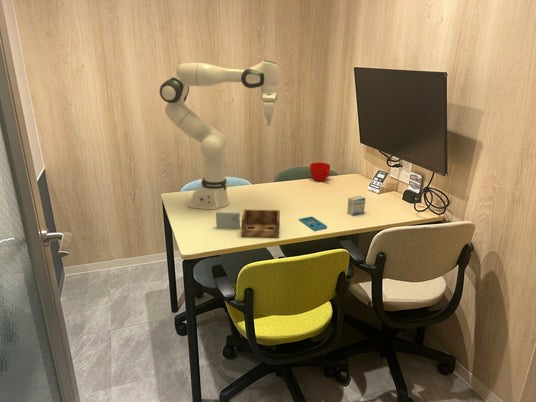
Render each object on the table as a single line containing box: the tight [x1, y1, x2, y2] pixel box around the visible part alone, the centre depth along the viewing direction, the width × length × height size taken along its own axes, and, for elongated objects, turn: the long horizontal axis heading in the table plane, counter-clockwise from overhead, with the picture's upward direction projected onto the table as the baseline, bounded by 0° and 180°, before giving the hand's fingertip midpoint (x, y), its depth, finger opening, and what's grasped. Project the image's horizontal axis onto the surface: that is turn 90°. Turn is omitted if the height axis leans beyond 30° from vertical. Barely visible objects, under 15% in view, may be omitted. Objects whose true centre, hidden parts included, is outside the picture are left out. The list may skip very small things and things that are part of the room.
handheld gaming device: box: [298, 216, 328, 232], centre depth 193 cm, size 8×1×15 cm
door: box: [215, 211, 241, 230], centre depth 187 cm, size 11×3×8 cm, turn 87°
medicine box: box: [346, 195, 366, 217], centre depth 205 cm, size 8×4×9 cm, turn 117°
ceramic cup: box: [309, 162, 331, 182], centre depth 255 cm, size 13×17×10 cm
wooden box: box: [240, 208, 281, 239], centre depth 184 cm, size 17×14×8 cm
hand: (269, 124), depth 198 cm, fingers open, 8 cm apart
